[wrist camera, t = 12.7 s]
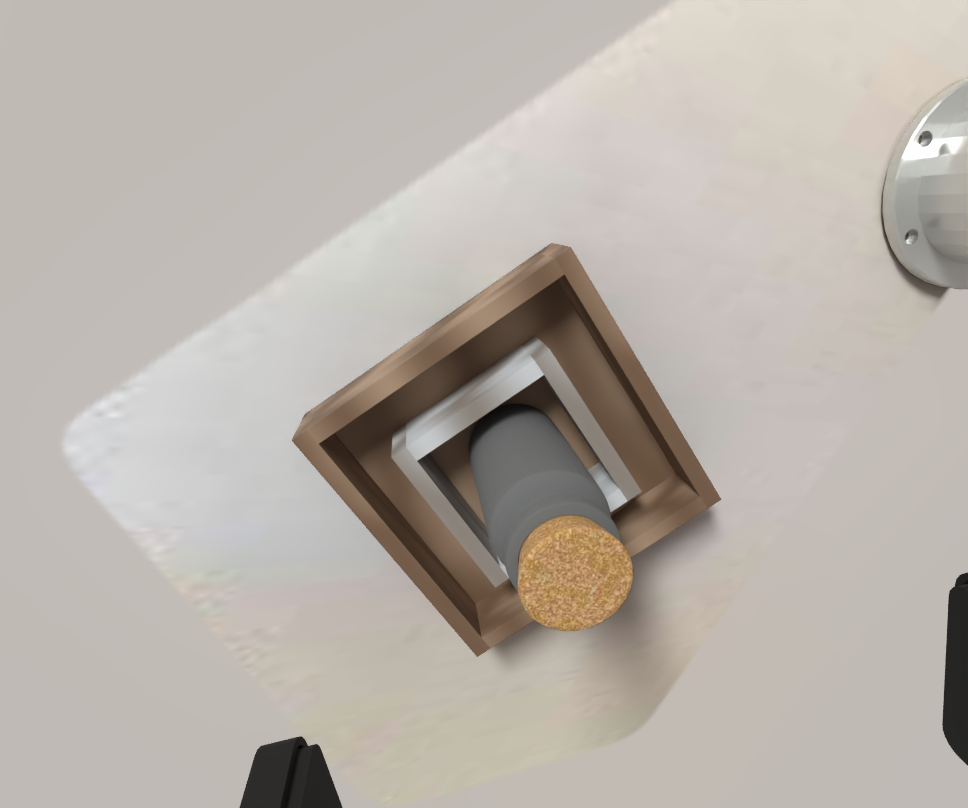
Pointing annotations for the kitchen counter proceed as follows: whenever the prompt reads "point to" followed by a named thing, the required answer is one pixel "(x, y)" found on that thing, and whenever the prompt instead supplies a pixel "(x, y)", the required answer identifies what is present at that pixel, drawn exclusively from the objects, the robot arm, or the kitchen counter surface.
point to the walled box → (466, 400)
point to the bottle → (548, 520)
